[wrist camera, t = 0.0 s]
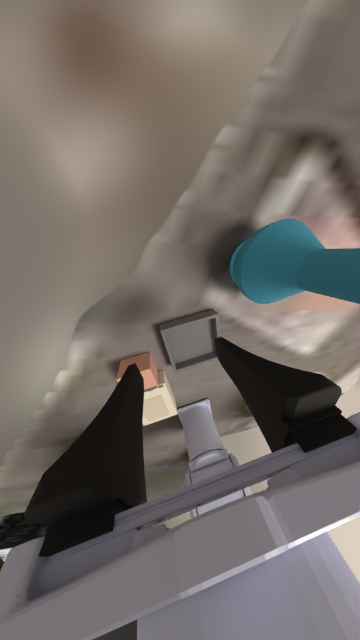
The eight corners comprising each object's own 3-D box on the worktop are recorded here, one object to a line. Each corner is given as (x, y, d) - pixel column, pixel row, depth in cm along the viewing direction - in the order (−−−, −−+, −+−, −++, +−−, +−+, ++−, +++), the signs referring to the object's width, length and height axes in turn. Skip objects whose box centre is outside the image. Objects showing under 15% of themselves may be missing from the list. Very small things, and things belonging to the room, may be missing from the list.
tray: (217, 350, 27) (222, 357, 25) (172, 364, 26) (174, 372, 24) (212, 308, 22) (218, 313, 21) (159, 324, 22) (160, 330, 20)
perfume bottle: (209, 276, 20) (328, 325, 7) (250, 209, 17) (587, 68, 4) (250, 303, 23) (382, 369, 10) (290, 250, 21) (539, 249, 7)
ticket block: (175, 400, 31) (177, 414, 28) (144, 410, 30) (144, 426, 27) (163, 369, 26) (164, 383, 23) (126, 381, 25) (123, 396, 23)
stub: (157, 369, 26) (158, 388, 22) (131, 377, 25) (128, 398, 22) (149, 351, 24) (150, 369, 20) (121, 360, 23) (116, 379, 20)
